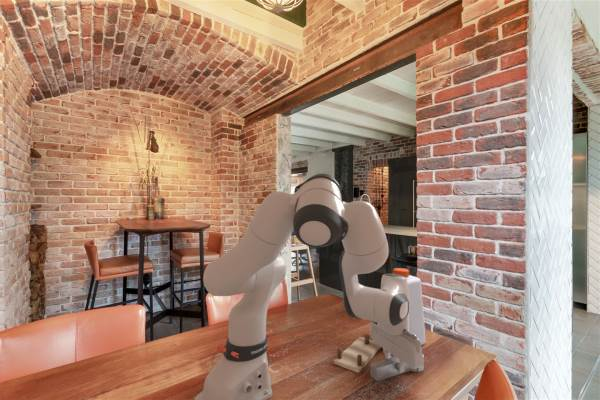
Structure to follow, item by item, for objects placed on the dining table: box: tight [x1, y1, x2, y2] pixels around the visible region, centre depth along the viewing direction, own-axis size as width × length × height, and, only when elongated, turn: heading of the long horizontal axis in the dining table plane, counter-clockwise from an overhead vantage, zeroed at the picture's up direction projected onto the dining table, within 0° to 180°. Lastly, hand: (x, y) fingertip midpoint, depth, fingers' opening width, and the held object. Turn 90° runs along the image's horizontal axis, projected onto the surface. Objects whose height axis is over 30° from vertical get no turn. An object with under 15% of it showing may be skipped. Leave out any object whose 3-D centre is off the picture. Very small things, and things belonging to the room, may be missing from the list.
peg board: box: [333, 333, 382, 374], centre depth 103 cm, size 21×9×4 cm, turn 144°
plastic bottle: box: [380, 267, 426, 346], centre depth 114 cm, size 15×15×28 cm
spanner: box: [369, 352, 425, 382], centre depth 93 cm, size 20×6×4 cm, turn 114°
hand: (394, 367), depth 93 cm, fingers open, 4 cm apart
